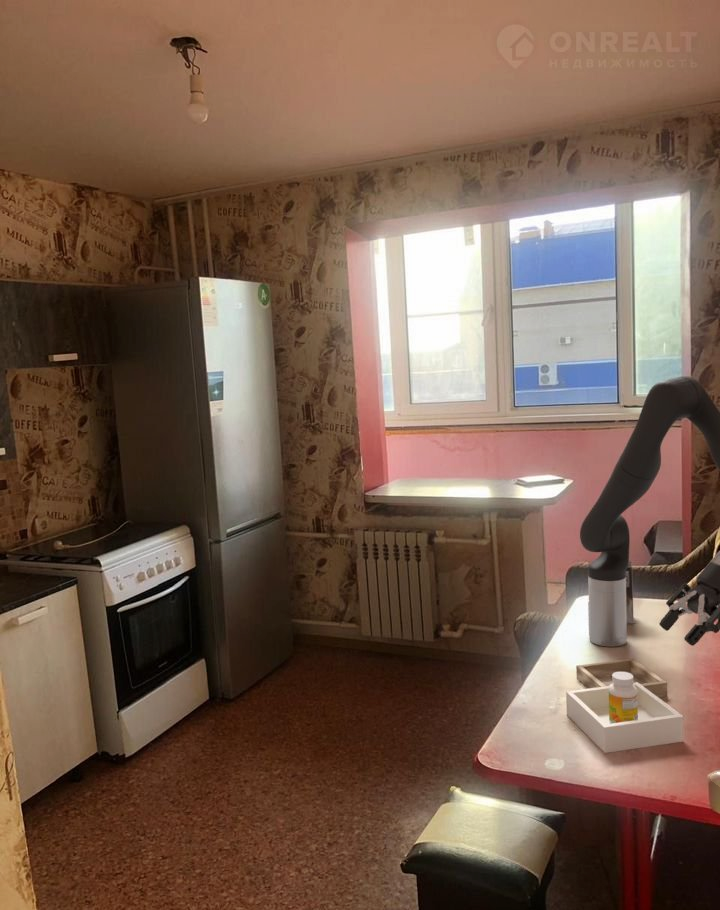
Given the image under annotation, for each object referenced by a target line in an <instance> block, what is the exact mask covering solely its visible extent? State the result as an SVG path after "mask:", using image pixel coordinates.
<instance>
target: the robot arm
mask: <svg viewBox="0 0 720 910" xmlns="http://www.w3.org/2000/svg"><path fill="white" fill-rule="evenodd" d="M681 419H687V420H688V421H690V422H691V423H692V424H693V425H694V426H696V427H697V429H698V430H699V431H700V432H701V434H702V436H703V437H704V440H705V441H706V444H707V446H708V449H709V453H710V456H711V458H712V461H713V462H714V465H715V466H716V468H717V469H718V470H719V471H720V410H719V409H718V407H717V406H716V404H715V403H714V401H713V400H712V397H711V396H710V395H709V393H708V391H707V390H706V389H705V387H704V386H703V385H702V383H700V382H699V381H698V380H697V379H695V377H691V376H687V375H683V376H675V377H671V378H667V379H662V380H661V381H658V382H657V383H655V384H654V385H653V386H652V387H651V388H650V389H649V391H648V393H647V395H646V398H645V401H644V402H643V406H642V408H641V411H640V414H639V416H638V419H637V422H636V425H635V427H634V429H633V430H632V432H631V435H630V437H629V438H628V440H627V442H626V445H625V447H624V449H623V451H622V453H621V455H620V456H619V458H618V460H617V462H616V464H615V466H614V468H613V470H612V472H611V474H610V477H609V479H608V480H607V482H606V484H605V486H604V487H603V489H602V492H601V494H600V495H599V497H598V499H597V501H596V502H595V503H594V505H593V506H592V507H591V509H590V510H589V512H588V514H587V515H586V516H585V518H584V520H582V521H583V522H582V524H581V526H580V530H579V539H580V542H581V545H582V547H583V548H584V549H585V550H586V551H589V552H591V553H600V555H599V556H598V557H597V558H596V559H595V560H593V561H592V562H590V563H589V565H588V567H587V577H588V578H587V579H588V582H587V583H588V584H587V585H588V586H587V587H588V601H587V602H588V603H587V607H588V609H587V610H588V611H587V612H588V615H587V616H588V636H589V641H590V642H591V643H592V644H595V645H596V646H597V645H598V646H601V647H614V648H615V647H621V646H624V645H626V644H627V642H628V639H627V638H628V637H627V636H628V635H627V633H628V631H627V628H628V627H627V625H628V623H627V618H626V570H627V568H628V564H629V562H630V538H631V537H630V528H629V525H628V522H627V520H626V519H625V518H624V516H622V514H623V513H624V512H626V510H628V509H629V508H630V507H632V506H633V505H634V504H635V503H637V502H638V501H639V500H640V499H641V498H642V497H643V496H644V495H646V493H647V492H648V491H649V489H650V488H651V486H652V484H653V483H654V481H655V479H656V477H657V476H658V474H659V472H660V469H661V467H662V466H661V465H662V453H661V447H662V444H663V441H664V439H665V437H666V435H667V434H668V432H669V431H670V429H671V428H672V426H673V424H675V422H677V421H678V420H681ZM696 581H697V583H696V584H697V585H695V586H694V587H691V586H690V585H689V584H688V583H687V582H683V584H682V585H680V586H679V588H678V589H677V590H676V591H675V592H674V593H673V594H672V595H671V597H669V599H667V601H666V603H665V605H666V606H667V607H668V611H667V613H666V614H665V615H664V616H663V617H662V618H661V620H660V622H659V623H658V624H659V626H660V627H661V628H662V629H663V630H665V631H666V632H667V631H669V630H671V628H672V627H673V626H674V625H675V623H676V622H677V621H678V620H679V618H681V616H683V615H686V614H688V615H690V614H693V613H694V614H697V616H698V619H697V624H694V625H693V626H692V628H691V629H690V630H689V631H688V632H687V633H686V635H685V636H684V637H683V639H684V641H685V642H686V643H687V644H688V645H690V646H692V647H693V646H695V645H696V644H698V643H699V641H700V640H701V639H702V638H703V637H704V635H706V633H709V632H713V633H714V634H717V633H719V632H720V550H719V551H718V552H717V553H716V554H715V555H714V557H713V558H712V559H711V560H710V561H709V562H708V563H707V564H706V566H705V567H704V569H702V571H701V572H700V573H699V574H698V576H696ZM676 601H677V602H676ZM680 608H681V609H680ZM716 621H717V622H716ZM715 622H716V623H715Z"/></svg>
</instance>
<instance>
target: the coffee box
mask: <svg viewBox="0 0 720 910" xmlns="http://www.w3.org/2000/svg"><path fill="white" fill-rule="evenodd" d="M633 585H634V583H633V564H632V561H629V564H628V568H627V570H626V618H627V624H634V622H635V621H634V620H635V617H634V593H633V592H634V591H633V590H634V587H633Z"/></svg>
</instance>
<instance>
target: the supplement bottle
mask: <svg viewBox="0 0 720 910" xmlns="http://www.w3.org/2000/svg"><path fill="white" fill-rule="evenodd" d="M611 681H612V683H610V685H608V686H609V721H610V723H611V724H612V723H619V722H626V721H633V720H638V693H637V688H636V687H635V686H634V685H633V683H635V682H634V675H633V674H632V673H628V672H615V673H613V674H612V676H611Z"/></svg>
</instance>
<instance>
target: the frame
mask: <svg viewBox="0 0 720 910" xmlns="http://www.w3.org/2000/svg"><path fill="white" fill-rule="evenodd" d="M575 668H576V680H578V681H579V682H580V681H581V682H580V683H582V684H583V685H584V686H585V687H586V689H589V688H597V687H604V686H606V685H605V684H604V683H603V682H601V680H599V679H598V678H603V677H612V674H613V673H615V672H628V673H630V674H632V675H633V677H634V676H635V678H637V679H638V680H640V681H641V682H642V683H640V684H641V685H642V686H643V687H645V688H646V689H647V690H649V691H650V692H651V693H653V694H654V695H655V696H657V697H658V698H663V697H668V682H667V681H665V680H664V679H663V678H661V677H659V676H658V675H657V674H655V673H654V672H653V671H651V670H650V669H648V668H646V667H645V666H644V665H642V664H641V663H640V662H638V661H636V660H635V659H634V658H627V659H620V660H619V659H618V660H611V661H610V660H609V661H603V662H602V661H601V662H595V663H586V664H579V665H576V666H575Z"/></svg>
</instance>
